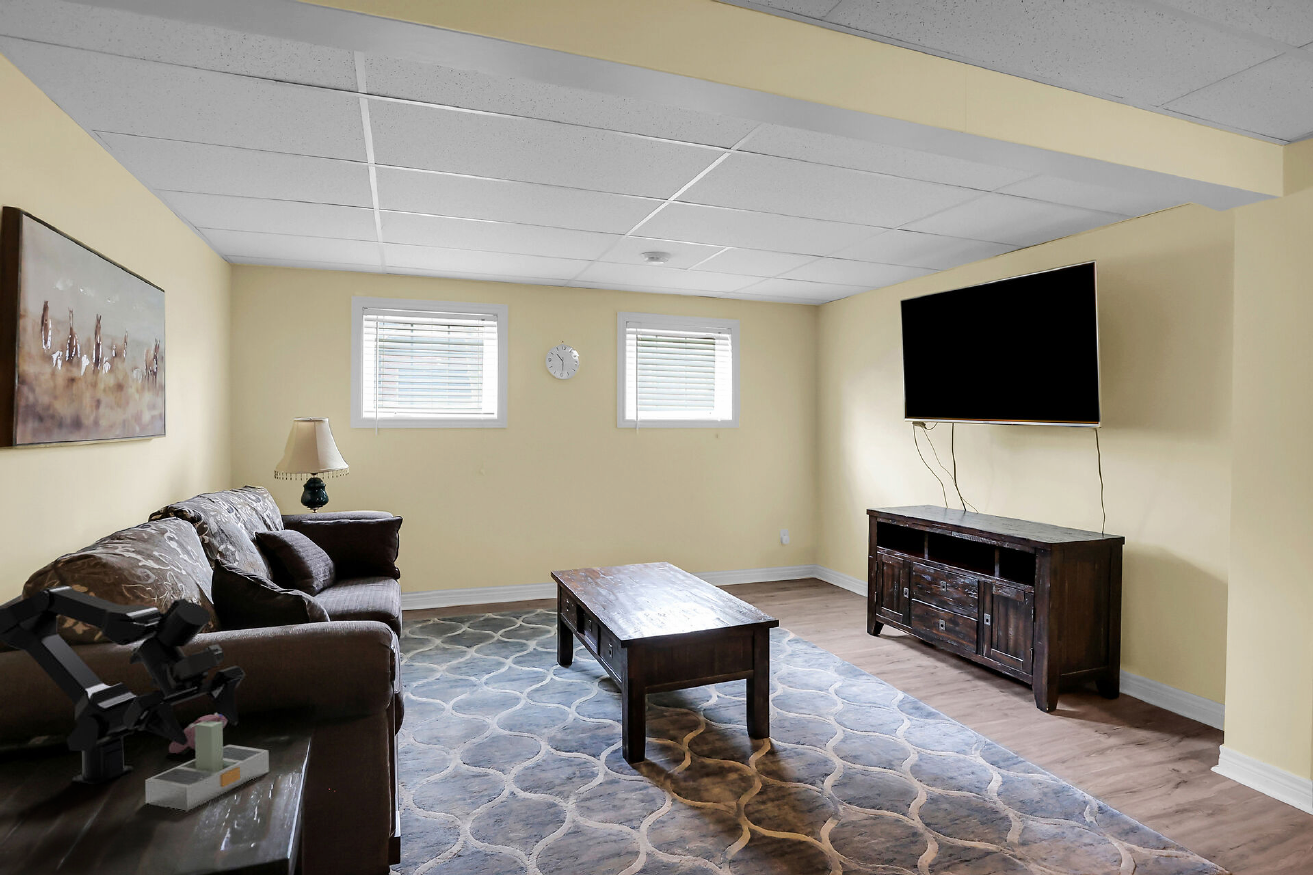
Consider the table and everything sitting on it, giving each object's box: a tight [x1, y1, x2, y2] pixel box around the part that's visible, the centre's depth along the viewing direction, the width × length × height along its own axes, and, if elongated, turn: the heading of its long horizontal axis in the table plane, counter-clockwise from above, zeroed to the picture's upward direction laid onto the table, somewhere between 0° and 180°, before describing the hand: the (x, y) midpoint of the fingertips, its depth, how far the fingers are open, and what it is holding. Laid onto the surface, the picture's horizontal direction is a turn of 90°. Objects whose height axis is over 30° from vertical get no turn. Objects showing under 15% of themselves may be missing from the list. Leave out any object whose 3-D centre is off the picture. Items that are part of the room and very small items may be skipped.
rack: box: [144, 744, 270, 812], centre depth 122 cm, size 10×15×4 cm
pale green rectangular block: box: [194, 720, 224, 773], centre depth 122 cm, size 4×2×10 cm, turn 70°
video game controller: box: [168, 712, 229, 754], centre depth 141 cm, size 10×5×7 cm, turn 169°
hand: (211, 732), depth 122 cm, fingers open, 9 cm apart
